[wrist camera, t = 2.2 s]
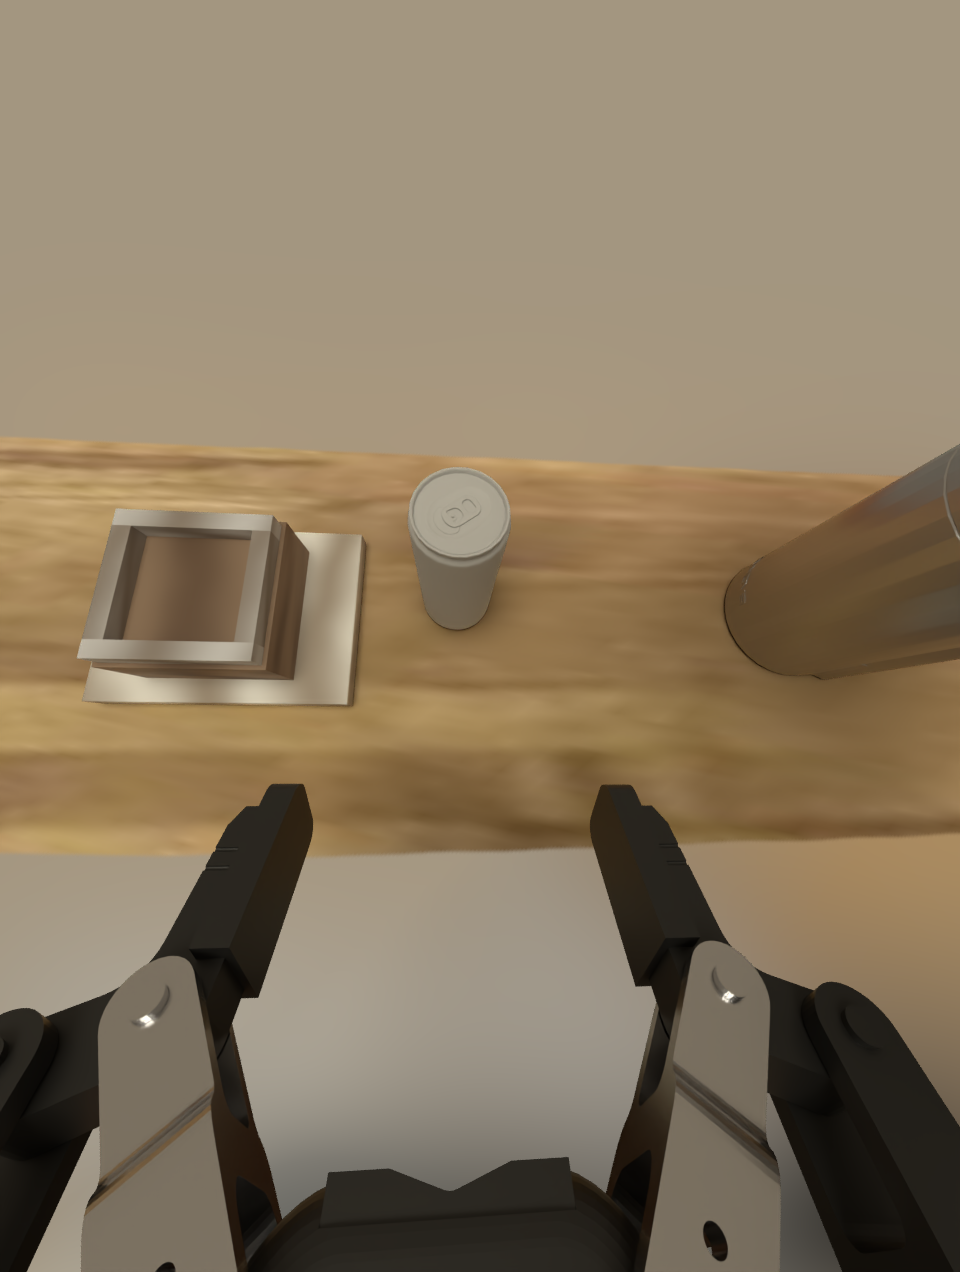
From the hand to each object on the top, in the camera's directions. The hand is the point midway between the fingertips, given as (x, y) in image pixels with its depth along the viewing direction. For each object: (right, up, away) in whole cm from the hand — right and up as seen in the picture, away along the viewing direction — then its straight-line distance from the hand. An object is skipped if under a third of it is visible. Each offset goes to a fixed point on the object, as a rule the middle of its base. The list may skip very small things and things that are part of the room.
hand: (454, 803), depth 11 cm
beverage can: (-1, +7, +19) cm, 20 cm away
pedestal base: (-16, +6, +17) cm, 24 cm away
